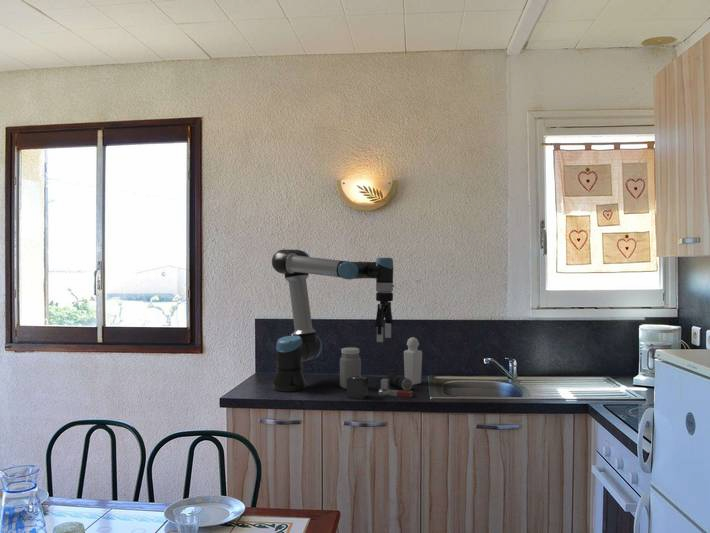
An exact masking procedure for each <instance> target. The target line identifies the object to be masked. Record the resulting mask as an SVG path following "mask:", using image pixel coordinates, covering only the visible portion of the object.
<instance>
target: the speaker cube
mask: <svg viewBox="0 0 710 533" xmlns="http://www.w3.org/2000/svg"><path fill="white" fill-rule="evenodd" d="M367 396H369V378H368V376H362V375H361V376H352V377H350V378H348V379H347V389H346V398H347V399H355V400H356V399H357V400H364V398H366V397H367Z"/></svg>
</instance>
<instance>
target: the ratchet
mask: <svg viewBox="0 0 710 533" xmlns="http://www.w3.org/2000/svg"><path fill="white" fill-rule="evenodd" d="M377 392H378V393H377V395H378V396H381V397H397V398H398V397H399V398H409V399H411V398H412V397H413V396H414V391H413V390H403V389H399V390H398V389H392V388H390V384H389V379H387V378H382V379H380V388H379V389H378V390H377Z"/></svg>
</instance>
